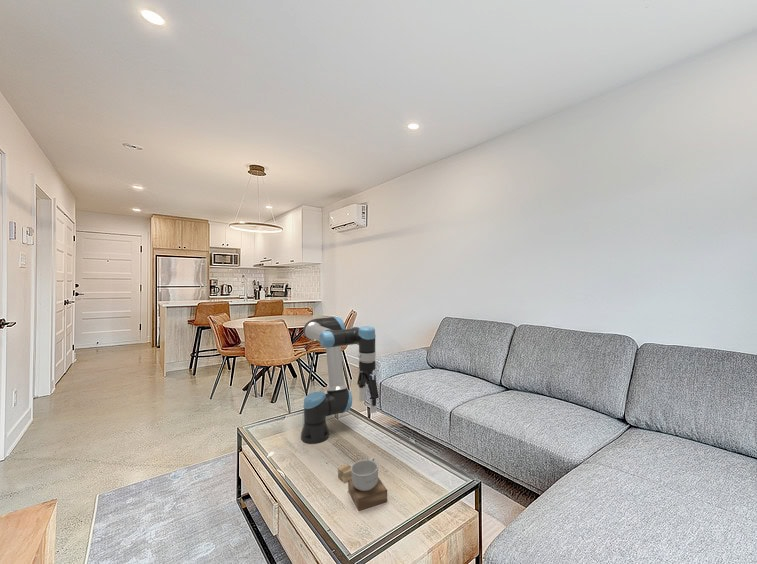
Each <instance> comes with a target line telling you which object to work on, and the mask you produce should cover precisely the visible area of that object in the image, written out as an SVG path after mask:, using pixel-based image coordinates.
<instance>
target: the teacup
mask: <svg viewBox="0 0 757 564" xmlns="http://www.w3.org/2000/svg"><path fill="white" fill-rule="evenodd" d="M350 466H351V475H352V482H353V485H354V486H355V488H357V489H359V490H360V491H369V490H371V489H372V488H373V487H375V485H376V484H377V482H378V477H379V464H378V463H377V462H376V461H375V458H374V457H370V458H369V459H360V460H357V461H355V462H354V463H352V465H350Z"/></svg>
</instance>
